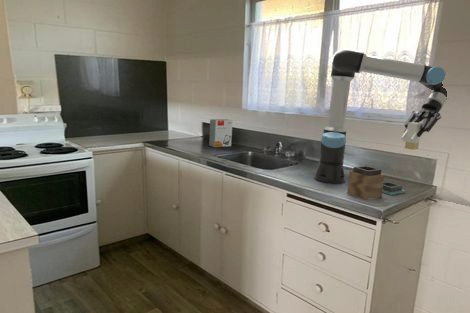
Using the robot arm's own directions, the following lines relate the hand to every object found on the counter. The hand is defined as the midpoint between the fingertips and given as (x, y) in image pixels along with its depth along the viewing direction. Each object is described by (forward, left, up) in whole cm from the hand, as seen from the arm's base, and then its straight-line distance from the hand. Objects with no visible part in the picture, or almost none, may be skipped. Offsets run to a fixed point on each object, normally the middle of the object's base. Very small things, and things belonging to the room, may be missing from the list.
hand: (407, 140), depth 156 cm
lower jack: (+3, -7, -23) cm, 25 cm away
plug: (-2, +3, -4) cm, 6 cm away
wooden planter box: (+11, -21, -23) cm, 34 cm away
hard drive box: (-98, -90, -24) cm, 135 cm away
